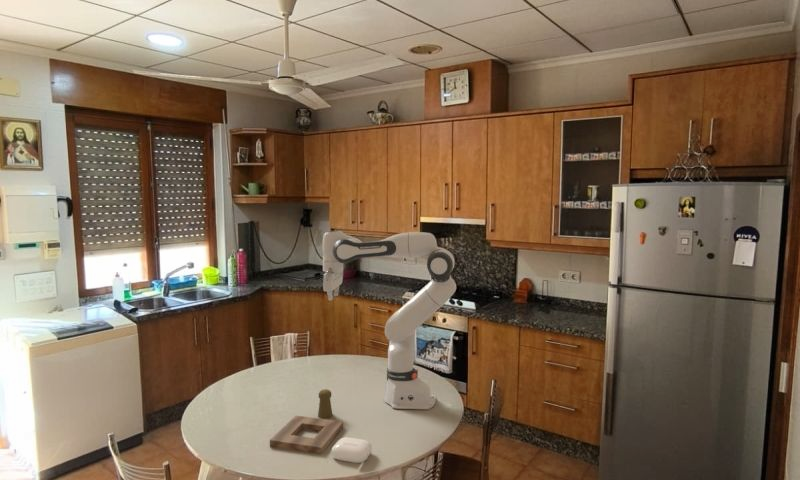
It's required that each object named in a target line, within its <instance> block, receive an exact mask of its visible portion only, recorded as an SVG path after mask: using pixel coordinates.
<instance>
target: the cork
mask: <svg viewBox="0 0 800 480" xmlns="http://www.w3.org/2000/svg"><path fill="white" fill-rule="evenodd" d="M318 398H319V404H318V414H317V418H319V419H327V420H328V419H330V418H331V417H333V410H332V401H331V398H332V392H331V390H329V389H326V388H325V389H321V390H320V391H319V392H318Z"/></svg>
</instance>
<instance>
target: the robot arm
mask: <svg viewBox="0 0 800 480" xmlns="http://www.w3.org/2000/svg"><path fill="white" fill-rule="evenodd" d="M437 243H438V242H437V238H436V236H435V235H434V234H433V233H431V232H425V231H424V232H423V231H409V232H401V233H397V234H394V235H391V236H388V237H387V238H384V239H380V240H376V241H365V242H363V241H362V240H361V239H359V238H356V237H354V236H350V235H348V234H346V233H344V232H343V231H342V230H339V229H335V230H329V231H326V232H325V233H324V234H323V237H322V254H323V256H322V272H324V274H323V280H322V281H323V282H322V285H323V286H322V288H323V292H326V294H327V299H328V301H333V298H334V297H337V296H339V291H340V290H339V289H340V285H342V284H343V279H344V269H345V265H346V264H349V263H351V262H353V261H355V260H357V259H364V258H372V257H373V258H374V257H386V258H387V257H388V258H395V259H396V258H397V259H417V258H419V259H424V260H425V261H426V267H427V271H428V273H429V275H430V277H431V280H430V281H429V282H428V283H427V284H426V285H424V287H422V288H421V289H420V290H419V291H418V292H417V293H415V295H413V296H412V297H411V298H410V299H409V300H408V301H407V302H406V303H405V304H403V305H402V306H401V307H400V308H399V309H397V310H396V311H395V312H394V313H393V314H392V315H391V316H390V317H389V318H388V319H387V320H386V323H385V325H384V336H385V337H386V338H387V340H388V341H389V343H388V349H387V367H386V381H387V383H386V389H385V391H386V392H385V394H384V400H383V401H384V402H385V403H386V404H388V405H390V406H391V408H393V409H399V410H400V409H402V410H404V409H405V410H430V409H432V408H433V407H434V405H436V402H437V401H436V398H437V397H436V396H435V395H434V394H431V389H430V385H429V384H428V383H426V382H425V381H424V380H422V379H421V378H420V377H419V375H418V374H419V369H418V368H416V369H415V367H414V345H415V340H416V339H415V336H416V330H417V329H419V328H420V327H421V326H422V325H423V323H425V322H426V321H427V320H428V319H429V318H430V317H431V316H432V315H433V314H435V313H436V312H437V311H438V310H439V309H440V308H441V307H442V306H444V305H445V304H446V303H447V302H448V301H449V300H450V299H451V297H452V296H453V295H454V294H455V293H456V290H457V284H456V282H455V279H454V278H453V277H452V275H451V274H452V272H453V269H454V268H455V265H456V257H455V255H454V253H452V251H450V250H449V249H448V248H446V247H443V246H442V245H439V244H437Z"/></svg>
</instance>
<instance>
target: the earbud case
mask: <svg viewBox="0 0 800 480" xmlns="http://www.w3.org/2000/svg"><path fill="white" fill-rule="evenodd" d="M372 451H373V446H372V444H371V442H370V441H368V440H366V439H363V438H356V437H355V438H354V437H351V436H350V437H349V436H344V437H341V438H339V439H338V440H337V441H336V442H335V443H334V445H332V447H331V450H330V452H331V456H332V457H333V458H334V459H335V460H338V461H342V462H346V463H353V464H361V463H363V462H365V461H367V459H368V458H369V456H370V455H371V453H372Z"/></svg>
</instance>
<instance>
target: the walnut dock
mask: <svg viewBox="0 0 800 480" xmlns="http://www.w3.org/2000/svg"><path fill="white" fill-rule="evenodd" d="M343 429H344V421H341V420H340V421H339V420H334V419H328V418H327V419H322V418H319V417H311V416H310V417H309V416H301V415H294V417H293V418H291V420H289V422H287V423H286V424H285V425H284V426H283V427H282V428H281V429H280V430H279V431H277V432H276V434H274V435H273V436H272V437H271V438H270V439H269V447H270V448H276V449H284V450H289V451H290V450H291V451H297V452H303V453H310V454H317V455H323V453H324V452H325V451H326V450H327V449H328V447H329V446H330V445H331V443H332V442H333V441H334V440H335V438H336V437H337V436H338V435H339V434H340V432H341V431H342V430H343ZM302 430H303V431H312V432H318V433H317V434H316V436H315V437H309V436H308V437H307V436H300V435H298V434H300V433H301V431H302Z"/></svg>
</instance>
